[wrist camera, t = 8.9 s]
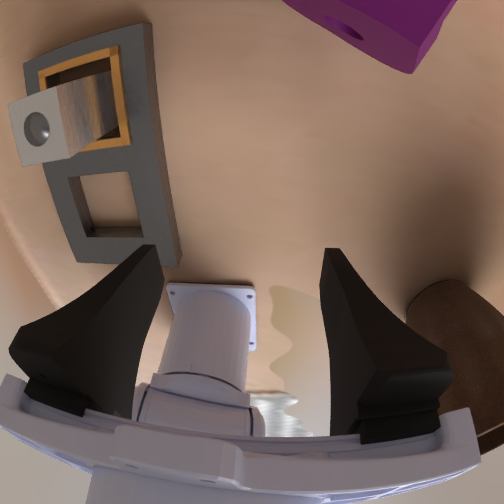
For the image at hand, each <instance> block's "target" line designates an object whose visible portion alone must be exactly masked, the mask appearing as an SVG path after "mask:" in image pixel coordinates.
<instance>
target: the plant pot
mask: <svg viewBox="0 0 504 504" xmlns="http://www.w3.org/2000/svg"><path fill="white" fill-rule="evenodd" d="M406 325H407V326H408V327H410V328H411V329H412V330H414V331H415V332H416V333H418V334H419V335H421V336H422V337H423V338H425V339H426V340H428V341H429V342H431V343H433V344H434V345H436V346H438V347H439V348H441V349H443V350H444V351H446V352H447V354H448V356H449V358H450V361H451V364H452V367H453V371H454V374H455V377H454V380H453V382H452V383H451V385H450V386H449V387H448V388H447V390H446V391H445V392H444V393H443V394H442V395H441V396H440V397H439V402H440V408H439V409H437V411H438V416H440V415H442V414H444V413H447V412H451V411H455V410H459V409H463V408H467V407H468V408H470V412H471V416H472V420H473V424H474V428H475V432H476V437H477V441H478V446H479V451H480V456H481V455H483V454H485V453H487V452H489V451H491V450H493V449H495V448H497V447H499V446H501V445H503V444H504V316H503V315H502V314H501V313H500V312H499V311H498V310H497V309H496V308H495V307H493V306H492V305H491V304H490V303H489V302H488V301H486V300H485V299H484V298H483V297H481V296H480V295H479V294H478V293H476V292H475V291H473V290H472V289H471V288H469V287H468V286H466V285H465V284H463V283H462V282H460V281H457V280H446V281H442V282H439V283H436V284H434V285H432V286H430V287H429V288H427V289H425V290H424V291H423V292H421V293H420V294H419V295H418V296H417V297H416V298H415V299H414V300H413V302H412V303H411V304H410V306H409V308H408V311H407V315H406Z"/></svg>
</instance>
